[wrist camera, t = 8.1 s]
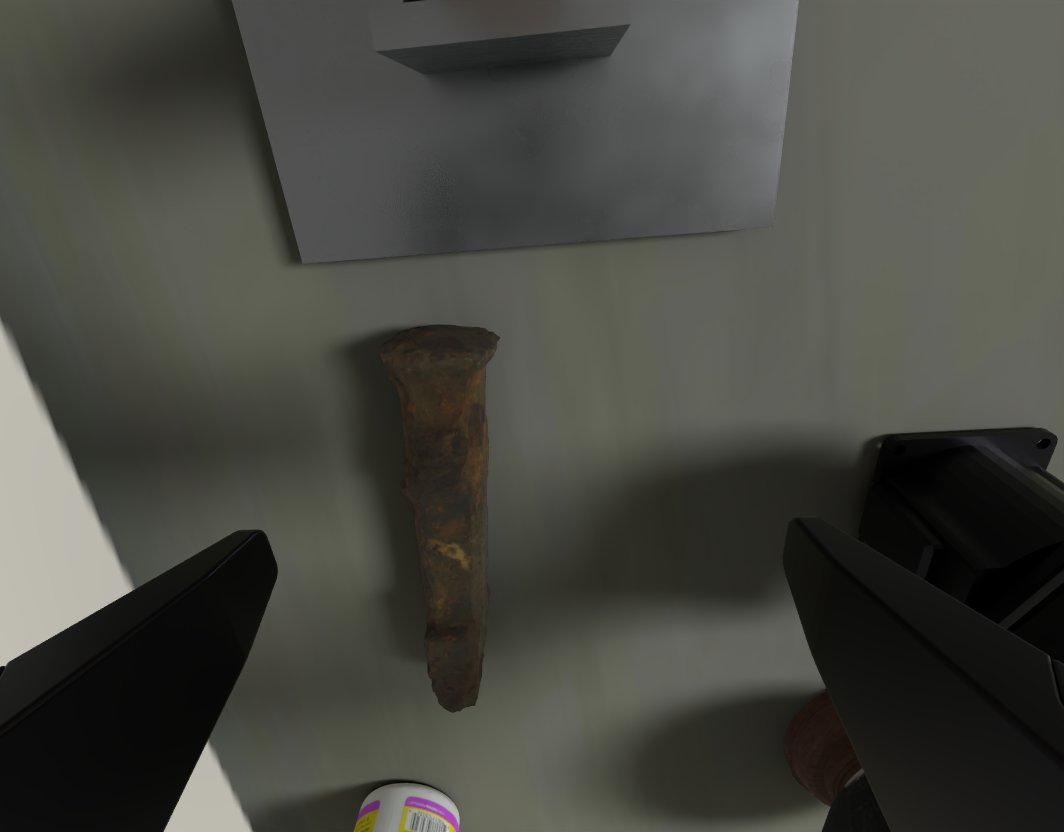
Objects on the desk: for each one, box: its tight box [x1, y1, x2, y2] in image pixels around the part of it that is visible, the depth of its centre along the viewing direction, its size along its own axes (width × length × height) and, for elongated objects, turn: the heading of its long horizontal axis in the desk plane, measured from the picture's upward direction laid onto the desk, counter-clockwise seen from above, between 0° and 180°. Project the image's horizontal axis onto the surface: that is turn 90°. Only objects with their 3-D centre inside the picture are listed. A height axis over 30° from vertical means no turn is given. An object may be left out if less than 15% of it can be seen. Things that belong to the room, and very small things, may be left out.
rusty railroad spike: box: [379, 325, 500, 713], centre depth 23 cm, size 19×4×5 cm, turn 177°
